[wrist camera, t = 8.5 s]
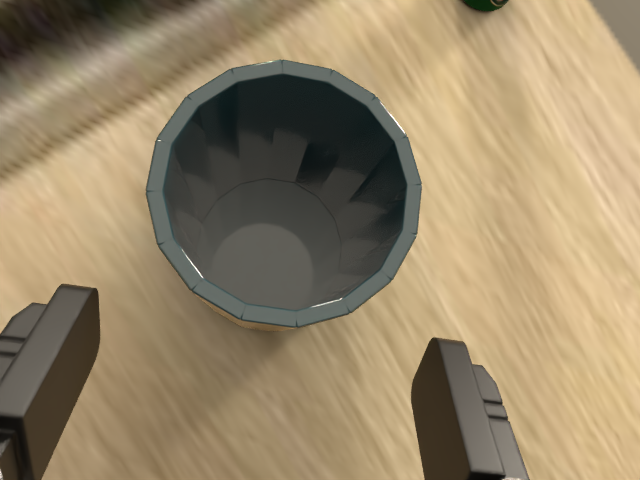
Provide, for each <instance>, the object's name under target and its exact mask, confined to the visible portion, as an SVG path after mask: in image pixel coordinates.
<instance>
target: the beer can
mask: <svg viewBox="0 0 640 480" xmlns="http://www.w3.org/2000/svg"><path fill="white" fill-rule="evenodd" d="M464 1H465V2H466V3H467V4H468V5H470V6H471V7H473V8H475V9H477V10H481V11H494V10H497V9H499V8H501V7H502V6H503V5H505V4H506V3H507V2H508V1H509V0H464Z"/></svg>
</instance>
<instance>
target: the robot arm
mask: <svg viewBox="0 0 640 480" xmlns="http://www.w3.org/2000/svg"><path fill="white" fill-rule="evenodd" d="M99 344H100V318H99V297H98V291H97V289H96V288H91V287H84V286H76V285H69V284H61V285H60V286H59V287H58V288H57V290H56V292H55V293H54V295H53V296H52V298H51V300H50V301H49V303H48V304H47V305H46V304H39V303H31V304H30V305H29V306H27V307H26V308H24V309H23V310H22V311H20V312H19V313H17V314H16V315H15V316H13V317H12V318H11V320H10V321H9V323H8V324H7V325H6V327H5V328H4V330H3V331H2V333H1V334H0V480H41V479H42V476H43V474H44V472H45V470H46V468H47V466H48V463H49V461H50V459H51V457H52V455H53V452H54V450H55V448H56V446H57V444H58V441H59V439H60V437H61V435H62V433H63V430H64V428H65V426H66V424H67V422H68V419H69V417H70V415H71V413H72V411H73V408H74V406H75V404H76V402H77V400H78V397H79V395H80V393H81V391H82V389H83V386H84V384H85V382H86V380H87V378H88V375H89V373H90V371H91V369H92V367H93V364H94V362H95V360H96V357H97V353H98V349H99ZM411 403H412V409H413V415H414V421H415V426H416V432H417V438H418V443H419V449H420V455H421V461H422V466H423V472H424V478H425V480H530V479H529V477H528V474H527V471H526V468H525V465H524V462H523V459H522V457H521V454H520V451H519V448H518V445H517V442H516V439H515V436H514V433H513V431H512V428H511V425H510V422H509V421H508V416H507V413H506V410H505V408H504V406H502V399H501V396H500V393H499V390H498V387H497V385H496V383H495V381H494V380H493V379H492V377H491V376H490V375H489V374H488V372H487V371H486V370H485V368H484V367H483V366H482V365H474V364H472V362H471V359H470V356H469V353H468V350H467V347H466V345H465V343H464V342H462V341H456V340H449V339H442V338H432V339H431V340H430V342H429V344H428V346H427V349H426V351H425V353H424V356H423V358H422V360H421V363H420V365H419V367H418V370H417V372H416V374H415V377H414V379H413V383H412V389H411Z"/></svg>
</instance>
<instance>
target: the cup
mask: <svg viewBox="0 0 640 480" xmlns="http://www.w3.org/2000/svg"><path fill="white" fill-rule="evenodd" d="M421 184H422V183H421V180H420V176H419V173H418V169H417V166H416V163H415V159H414V156H413V153H412V149H411V146H410V142H409V139H408V137H407V135H406V133H405V132H404V131H403V130H402V128H401V127H400V126H399V124H398V123H397V122H396V121H395V119H394V118H393V117H392V115H391V114H390V113H389V112H388V110H387V109H386V108H385V106H384V105H383V104H382V103H381V101H380V100H379V99H378V97H376V96H375V95H374V94H372V93H371V92H369V91H367V90H366V89H364V88H363V87H361V86H359V85H358V84H356V83H354V82H353V81H351V80H349V79H348V78H346V77H345V76H343V75H341V74H340V73H338V72H336V71H335V70H332V69H329V68H324V67H319V66H314V65H308V64H303V63H298V62H293V61H288V60H275V61H270V62H264V63H258V64H253V65H247V66H241V67H236V68H232V69H229V70H227V71H226V72H224V73H223V74H221V75H219V76H218V77H216V78H215V79H213V80H211V81H210V82H208V83H206V84H205V85H203V86H202V87H200V88H198V89H197V90H195V91H194V92H192V93H190V94H189V95H188V96H187V97H185V99H184V100H183V101H182V103H181V104H180V106H179V107H178V108H177V110H176V111H175V113H174V114H173V116H172V117H171V118H170V120H169V121H168V123H167V124H166V125H165V127H164V128H163V130H162V131H161V133H160V134H159V135H158V137H157V140H156V141H155V146H154V151H153V156H152V161H151V166H150V171H149V176H148V181H147V186H146V198H147V202H148V207H149V211H150V216H151V220H152V224H153V229H154V233H155V238H156V242H157V245H158V247H159V249H160V250H161V252H162V253H163V254H164V256H165V257H166V258H167V260H168V261H169V262H170V264H171V265H172V267H173V268H174V269H175V271H176V272H177V273H178V275H179V276H180V277H181V279H182V280H183V282H184V283H185V284H186V286H187V287H188V288H189V290H190V291H192V292H193V293H194V294H195V295H196V296H197V297H198V298H200V299H201V300H202V301H203V302H204V303H205V304H207V305H208V306H209V307H210V308H211V309H212V310H214V311H215V312H217V313H219V314H220V315H222V316H224V317H225V318H227V319H228V320H230V321H232V322H234V323H235V324H237V325H239V326H240V327H244V328H251V329H257V330H266V331H273V332H274V331H282V330H289V329H295V328H301V327H304V326H308V325H312V324H315V323H319V322H323V321H327V320H330V319H334V318H338V317H342V316H345V315H348V314H349V313H352V312H354V311H355V310H356V309H357V308H359V307H360V306H361V305H362V304H364V303H365V302H366V301H368V300H369V299H370V298H371V297H373V296H374V295H375V294H376V293H378V292H379V291H380V290H382V289H383V288H384V287H385V286H387V285H388V284H389V283H390V282H391V280H393V279H394V277H395V275H396V273H397V272H398V270H399V268H400V266H401V264H402V262H403V261H404V259H405V257H406V255H407V253H408V251H409V250H410V248H411V246H412V244H413V242H414V240H415V239H416V235H417V231H418V221H419V211H420V201H421V191H422V185H421Z"/></svg>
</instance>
